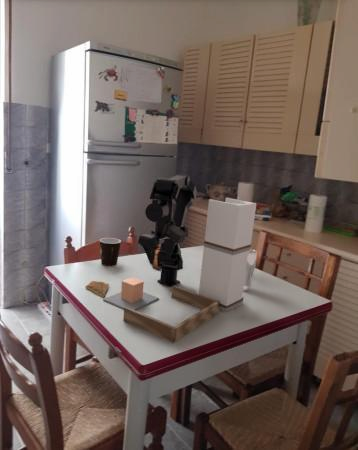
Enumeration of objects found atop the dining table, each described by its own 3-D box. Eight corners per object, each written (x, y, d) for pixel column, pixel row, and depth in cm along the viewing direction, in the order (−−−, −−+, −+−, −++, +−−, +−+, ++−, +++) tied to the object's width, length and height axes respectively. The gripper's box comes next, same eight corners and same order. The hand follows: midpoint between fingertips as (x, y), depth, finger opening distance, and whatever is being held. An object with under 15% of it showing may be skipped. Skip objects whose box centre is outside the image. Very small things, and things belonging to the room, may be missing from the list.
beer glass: (255, 289, 144) (261, 251, 141) (245, 293, 139) (250, 254, 136) (240, 283, 149) (245, 246, 146) (230, 287, 144) (235, 249, 141)
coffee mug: (102, 259, 162) (103, 236, 160) (122, 262, 161) (123, 239, 159) (92, 267, 151) (94, 243, 149) (113, 270, 150) (115, 246, 148)
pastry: (187, 267, 163) (188, 249, 161) (156, 271, 155) (157, 252, 153) (166, 255, 177) (168, 239, 175) (137, 258, 168) (138, 241, 167)
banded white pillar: (242, 303, 130) (256, 203, 122) (225, 311, 122) (239, 205, 114) (215, 292, 137) (227, 197, 130) (198, 300, 129) (209, 199, 121)
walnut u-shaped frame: (173, 296, 130) (174, 285, 129) (218, 313, 120) (220, 301, 119) (123, 320, 110) (124, 307, 109) (173, 343, 100) (174, 329, 99)
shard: (103, 299, 124) (104, 294, 124) (80, 297, 124) (80, 292, 123) (109, 286, 135) (109, 282, 134) (88, 285, 134) (88, 280, 134)
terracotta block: (131, 294, 128) (132, 277, 126) (142, 298, 125) (143, 281, 124) (120, 298, 124) (121, 281, 122) (132, 302, 121) (133, 285, 120)
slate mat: (132, 289, 133) (132, 287, 133) (158, 299, 127) (158, 297, 127) (103, 300, 122) (103, 298, 122) (130, 312, 115) (131, 310, 115)
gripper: (166, 224, 113) (162, 273, 116) (199, 217, 128) (194, 261, 131) (138, 217, 119) (135, 264, 122) (172, 212, 134) (168, 254, 137)
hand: (160, 261), depth 128 cm, fingers open, 9 cm apart
